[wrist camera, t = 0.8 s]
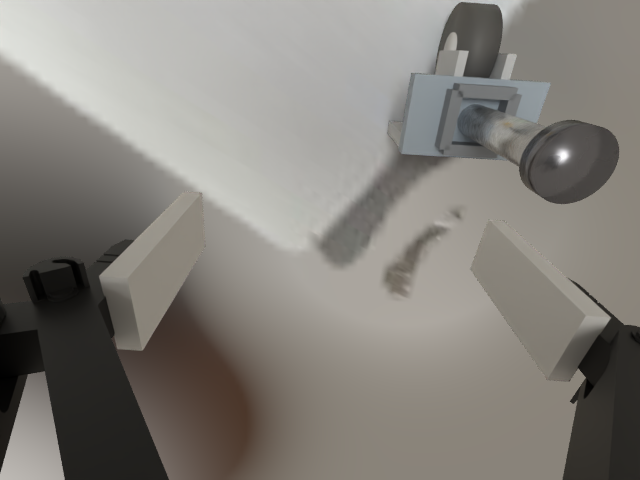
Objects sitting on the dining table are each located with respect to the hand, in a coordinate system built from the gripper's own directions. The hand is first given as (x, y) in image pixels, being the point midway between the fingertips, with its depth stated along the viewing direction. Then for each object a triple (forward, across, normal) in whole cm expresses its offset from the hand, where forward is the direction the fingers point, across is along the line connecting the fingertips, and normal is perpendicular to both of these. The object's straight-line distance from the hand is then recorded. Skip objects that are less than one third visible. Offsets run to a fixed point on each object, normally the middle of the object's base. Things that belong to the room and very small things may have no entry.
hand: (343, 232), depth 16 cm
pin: (+19, +13, +3) cm, 23 cm away
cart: (+29, +12, +6) cm, 32 cm away
